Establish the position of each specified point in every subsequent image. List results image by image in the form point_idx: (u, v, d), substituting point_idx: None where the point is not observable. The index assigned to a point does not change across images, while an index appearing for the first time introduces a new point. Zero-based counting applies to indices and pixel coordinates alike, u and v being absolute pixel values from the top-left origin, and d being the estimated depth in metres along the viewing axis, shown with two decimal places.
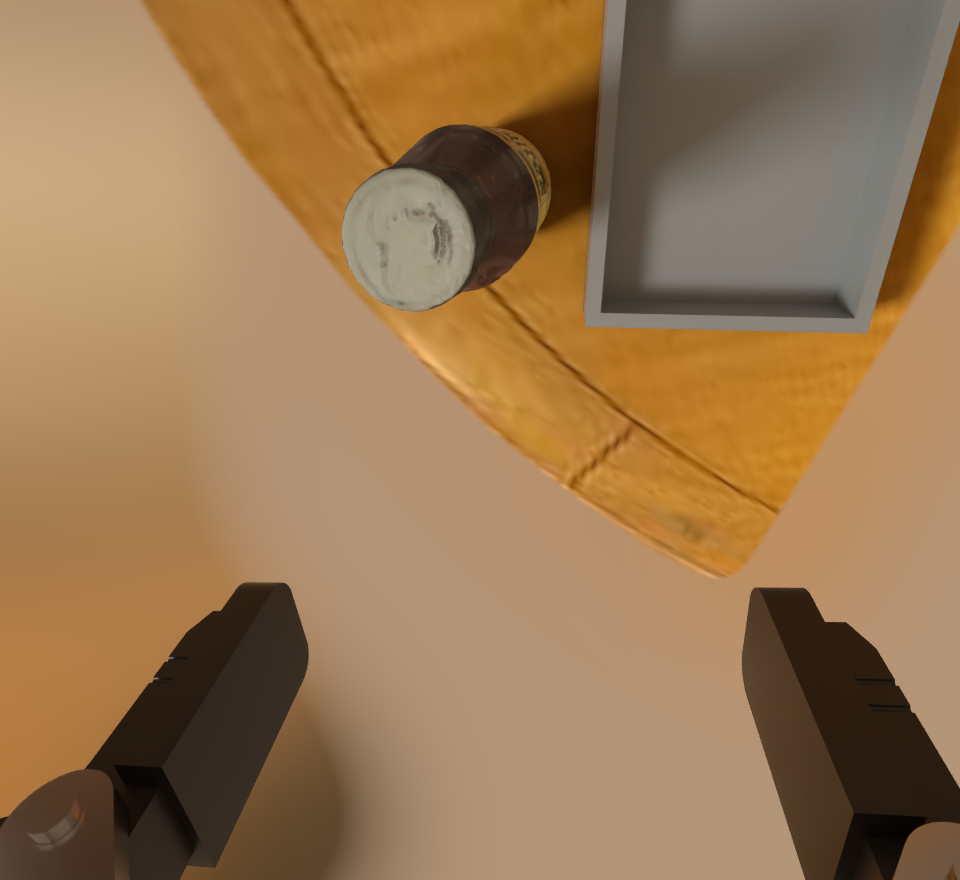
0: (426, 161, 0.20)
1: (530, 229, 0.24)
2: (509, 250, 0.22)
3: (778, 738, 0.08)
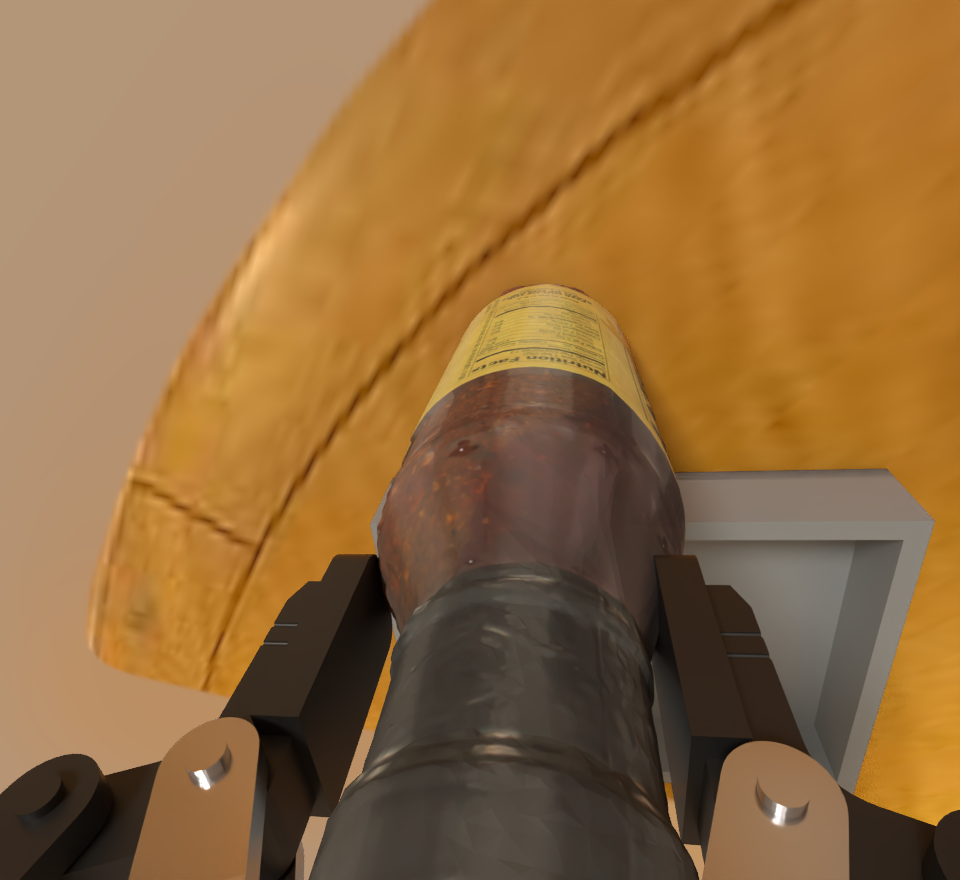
0: (648, 624, 0.09)
1: None
2: None
3: (664, 687, 0.09)
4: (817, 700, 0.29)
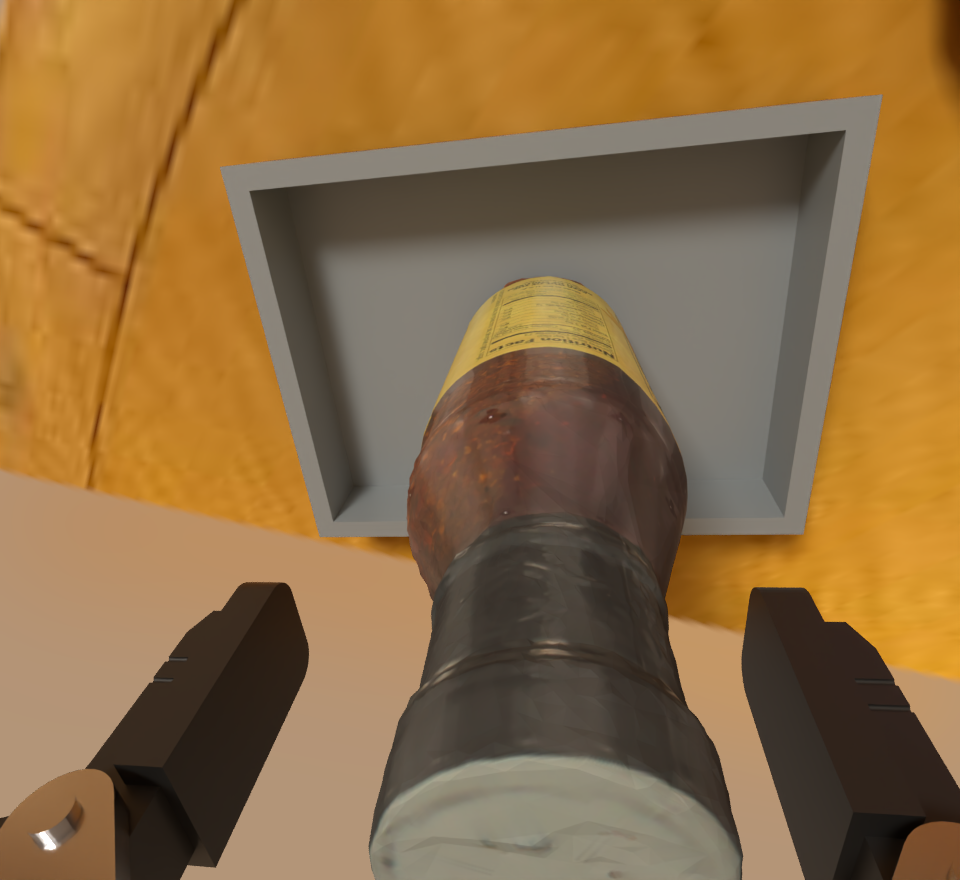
0: (661, 571, 0.10)
1: None
2: None
3: (778, 738, 0.08)
4: (764, 442, 0.25)
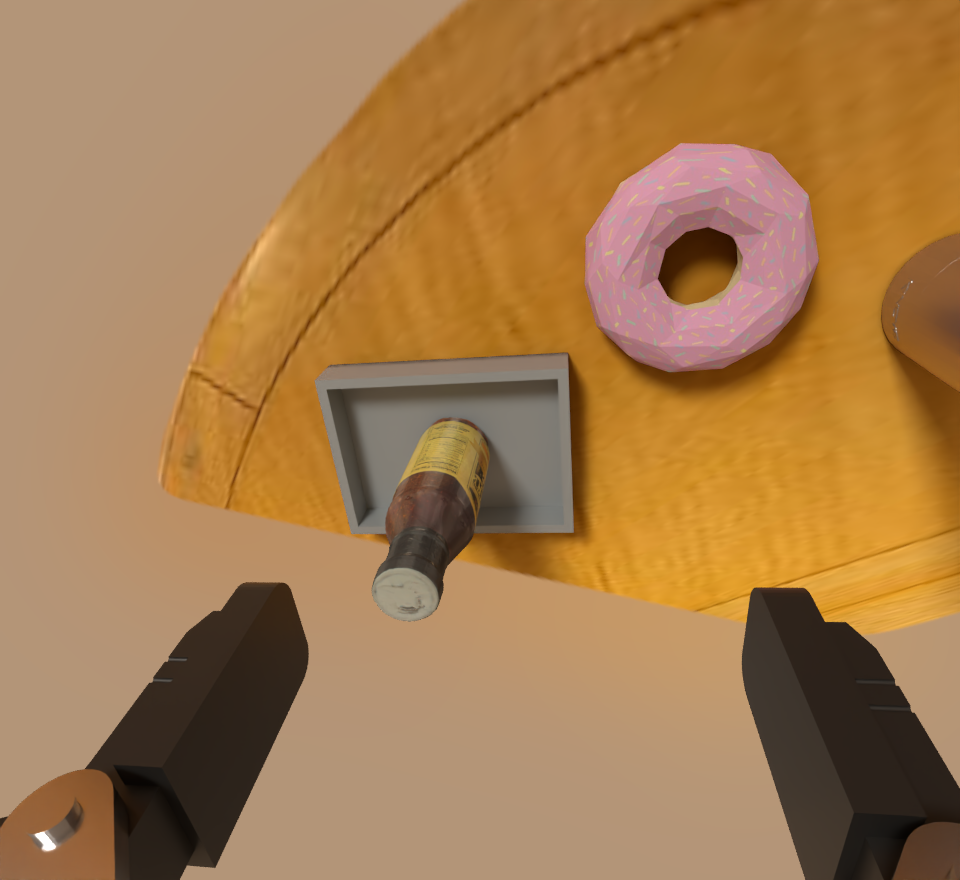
0: (450, 541, 0.38)
1: None
2: None
3: (778, 738, 0.08)
4: (561, 489, 0.53)
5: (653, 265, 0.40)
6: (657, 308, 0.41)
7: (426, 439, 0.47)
